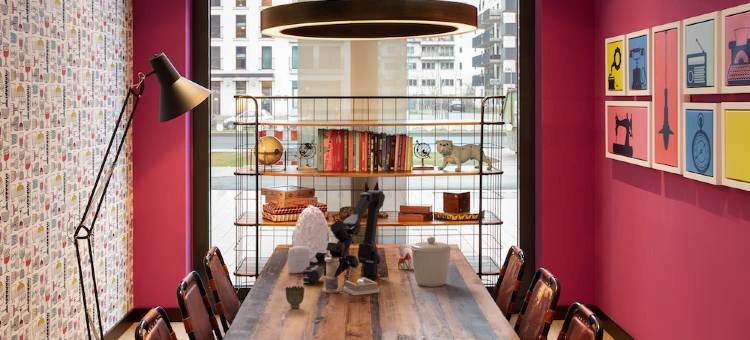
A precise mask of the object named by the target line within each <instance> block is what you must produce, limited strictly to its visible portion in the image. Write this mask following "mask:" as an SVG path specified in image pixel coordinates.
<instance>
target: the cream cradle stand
mask: <svg viewBox="0 0 750 340" xmlns="http://www.w3.org/2000/svg"><path fill="white" fill-rule="evenodd" d="M343 292H345V293H348V294H350V295H353V296H358V295H367V294H377V293H380V292H381V291H380V288H379V283H378V282H376V281H374V280H372V279H370V278H367V279H364V284H357V283H355V282H352V281H349V280H345V281H344V286H343Z"/></svg>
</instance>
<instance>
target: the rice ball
mask: <svg viewBox="0 0 750 340" xmlns="http://www.w3.org/2000/svg"><path fill="white" fill-rule="evenodd" d="M329 228H330V227H329V225H328V221H327V220H326V216H325V214H323V211H321V210H320V208H318V206H315V205H312V204H309V205H308V206H307V208H305V209H303V210H302V212H301V213H299V216H298V219H297V220H296V223H295V227H294V228H293V231H292V235H291V248H292V247H295V246H305V247H308V248H309V251H310V253H309V263H319V262H318V261H317V259H316V258H315V255H316V253H317V252H324V253H326V254H327V255H328V256H330V253H329V252H330V251H329V250H326V249H327V245H328V242H330V243H332V242H331V241H332V240H331V238H332V237H331V229H329Z"/></svg>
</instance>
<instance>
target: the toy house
mask: <svg viewBox="0 0 750 340" xmlns="http://www.w3.org/2000/svg"><path fill="white" fill-rule="evenodd" d="M411 256H412V255H411V254H410V253H409V252H406V254H405V256H404V258H403V257H402V258H401V257H400V258H398V263H397V265H398V267H397V268H398V269H397V270H402V269H410V268H411V269H412V257H411ZM411 269H410V270H411Z"/></svg>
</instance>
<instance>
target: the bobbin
mask: <svg viewBox="0 0 750 340" xmlns="http://www.w3.org/2000/svg"><path fill="white" fill-rule="evenodd" d="M325 261H326V276H325V277H324V280H325V281H324V288H323V292H324V293H330V294H333V293H335V294H336V293H339V292H340V287H339V278H338V276H337V277H335V273H336V271H337V268H338V263H339V262H338V261H339V258H336V257H327V258H325Z"/></svg>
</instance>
